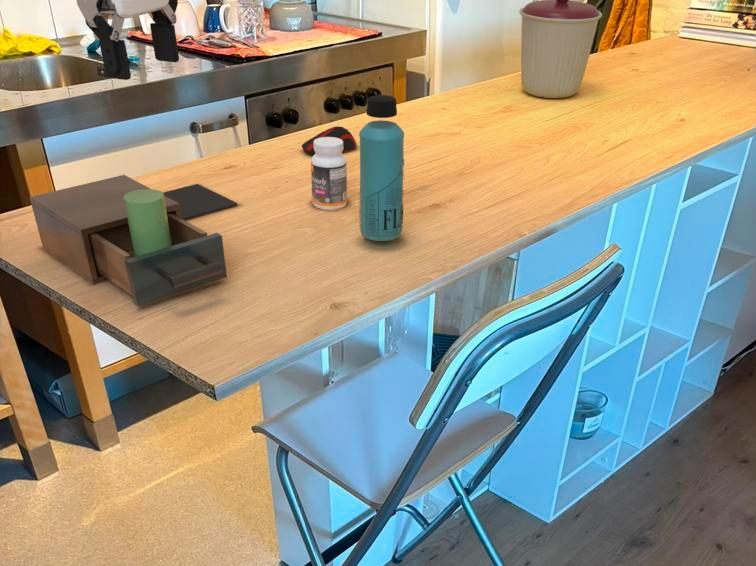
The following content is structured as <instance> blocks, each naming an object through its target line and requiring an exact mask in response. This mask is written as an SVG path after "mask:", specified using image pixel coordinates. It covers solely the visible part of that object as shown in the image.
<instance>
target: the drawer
mask: <svg viewBox="0 0 756 566" xmlns="http://www.w3.org/2000/svg"><path fill="white" fill-rule="evenodd" d="M167 218H168V224H169V230H170V236H171V243H172V246H170V247H167V248H163V249H160V250H157V251H153V252H150V253H147V254H143V255H140V256H136V257H135V255H134V250H133V244H132V239H131V234H130V229H129V224H128V223H127V224H124V225H120V226H116V227H112V228H109V229H105V230H101V231H98V232H94V233H90V234H88V238H89V242H90V246H91V251H92V255H93V260H94V264H95V268H96V271H97V272H99V273H100V274H101V275H103V276H104V277H106V278H107V279H109V280H108V281H110V282H111V283H113V284H114V285H116V286H117V287H118V288H120V289H122V290H123V291H125V292H126V293H128V294H129V295H130V296H131V299H132V303H133V304H134V305H135V306H136V307H142V306H144V305H147V304H151V303H153V302H156V301H159V300H163V299H166V298H168V297H171V296H174V295H177V294H180V293H183V292H186V291H189V290H192V289H196V288H199V287H201V286H205V285H207V284H211V283H214V282H217V281H219V280H224V279H226V278H228V275H227V268H226V259H225V251H224V243H223V241H224V240H223V235H222V234H221V233H219V232H215V233H211V234H208V232H207V231H205V230H203V229H201V228H199V227H197V226H195V225H194V224H192V223H190V222H189V221H188V220H186V221H185V220H183V219H181V218H179V217H177V216H175V215H174V214H172V213H170V212H168V213H167Z"/></svg>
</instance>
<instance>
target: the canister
mask: <svg viewBox="0 0 756 566" xmlns="http://www.w3.org/2000/svg"><path fill="white" fill-rule="evenodd" d="M518 12H519V15H520V16H521V34H520V35H521V36H520V37H521V38H520V39H521V40H520V41H521V42H520V44H521V45H520V80H521V86H522V89H523V90H524V91H525V92H526V93H527V94H529V95H530V96H533V97H538V98H544V99H563V98H568V97H572V96H574V95H575V94H576V93H578V91H579V89H580V88H581V85H582V83H583V79H584V76H585V73H586V70H587V65H588V61H589V58H590V54H591V50H592V47H593V43H594V38H595V35H596V31H597V27H598V22H599V20H600V19H601V18H602V16H603V13H602V12H601V11H600V10H598V8H597V7H596V6H594V5H593V4H590V3H588V2H582V1H577V0H534V1H531V2H529V3H527V4H526V5H524V7H521V8H520V9H519V11H518Z"/></svg>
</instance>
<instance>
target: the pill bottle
mask: <svg viewBox="0 0 756 566" xmlns="http://www.w3.org/2000/svg"><path fill="white" fill-rule="evenodd" d="M313 146H314V151H315V155H314V156H311V159H310V171H311V201H312V205H313V206H314V207H315V208H317V209H320V210H324V211H334V210H340V209H342V208H344V207H345V206H346V205H347V203H348V182H347V181H348V180H347V176H348V175H347V174H348V173H347V172H348V171H347V162H348V161H347V158H346V156H345V155H344V153H342V151H343V149H344V148H343V141H342V140H341V139H339V138H335V137H321V138H317V139H315V140H314V143H313Z"/></svg>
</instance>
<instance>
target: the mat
mask: <svg viewBox="0 0 756 566" xmlns="http://www.w3.org/2000/svg"><path fill="white" fill-rule="evenodd" d="M162 193H163V194H164V196H166V197H168V198H169V199H171V200H173V201H175V202H177V203H179V204H180V211H181V218H182V219H183V220H185V221H189V220H193V219H197V218H200V217H203V216H206V215H211V214H214V213H217V212H221V211H225V210H228V209H232V208H236V207H238V202H236V201H234V200H231V199H230V198H228V197H225V196H223V195H221V194H220V193H217V192H215V191H213V190H211V189H209V188H207V187H205V186H204V185H201V184H199V183H196V184H191V185H187V186H183V187H179V188H176V189H171V190H168V191H164V192H163V191H162Z"/></svg>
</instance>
